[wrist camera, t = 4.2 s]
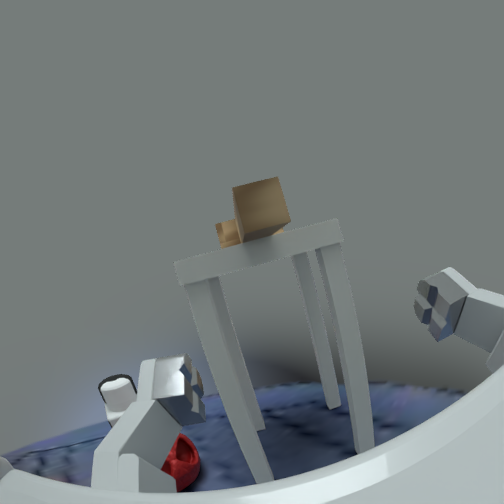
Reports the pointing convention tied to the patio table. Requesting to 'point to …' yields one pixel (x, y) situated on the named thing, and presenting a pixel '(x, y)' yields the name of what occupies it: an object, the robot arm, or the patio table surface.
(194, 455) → the pomegranate
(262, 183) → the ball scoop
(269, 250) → the tall stand
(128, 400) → the medicine bottle
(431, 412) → the patio table surface
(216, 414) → the patio table surface
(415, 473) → the robot arm
